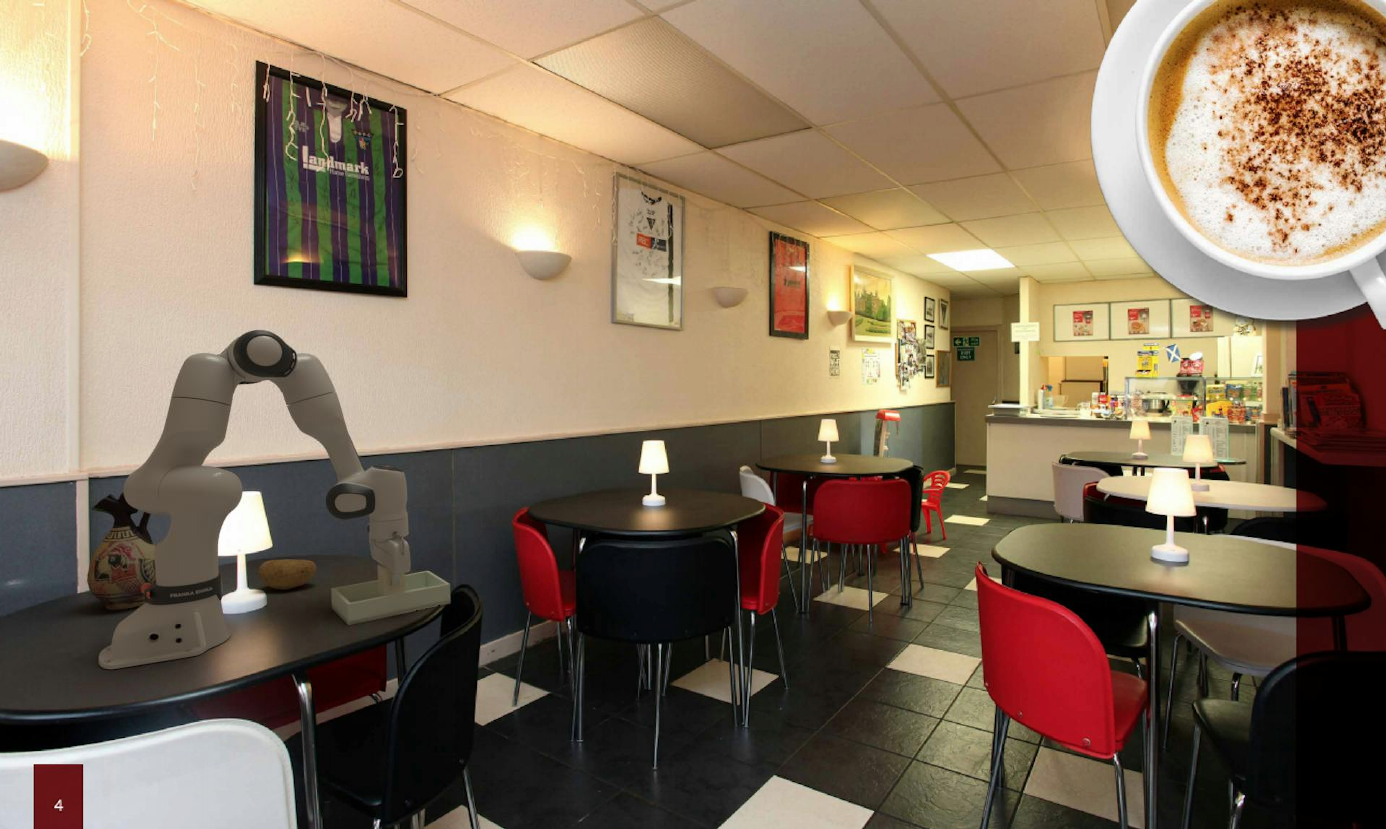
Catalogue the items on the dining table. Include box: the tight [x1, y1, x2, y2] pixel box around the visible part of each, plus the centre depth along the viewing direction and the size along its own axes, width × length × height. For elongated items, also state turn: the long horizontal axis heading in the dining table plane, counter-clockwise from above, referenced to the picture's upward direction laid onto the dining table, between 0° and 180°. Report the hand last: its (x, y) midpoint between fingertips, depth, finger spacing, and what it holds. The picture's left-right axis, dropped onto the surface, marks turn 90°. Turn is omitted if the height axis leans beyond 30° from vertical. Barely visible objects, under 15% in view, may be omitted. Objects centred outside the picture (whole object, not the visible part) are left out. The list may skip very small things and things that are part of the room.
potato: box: [257, 558, 317, 591], centre depth 190 cm, size 10×14×8 cm
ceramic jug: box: [86, 491, 156, 611], centre depth 177 cm, size 17×15×30 cm
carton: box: [377, 563, 406, 596], centre depth 176 cm, size 5×5×7 cm
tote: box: [330, 570, 452, 627], centre depth 176 cm, size 24×16×5 cm, turn 130°
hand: (391, 583), depth 176 cm, fingers closed on carton, 5 cm apart
